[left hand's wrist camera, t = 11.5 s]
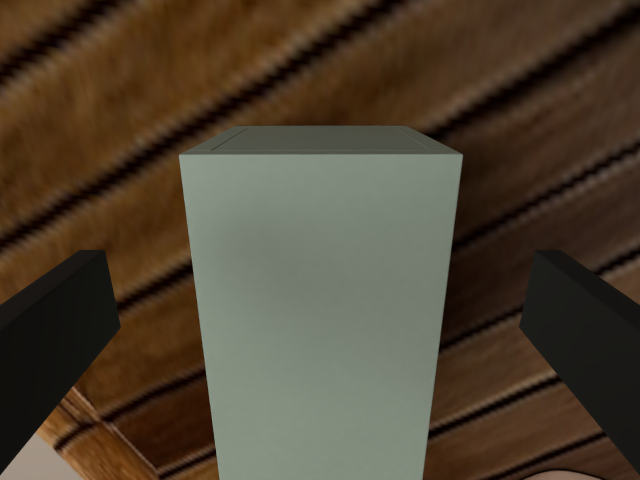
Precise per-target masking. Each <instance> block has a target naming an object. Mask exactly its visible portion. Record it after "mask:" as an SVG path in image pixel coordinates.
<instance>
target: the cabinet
mask: <svg viewBox="0 0 640 480" xmlns="http://www.w3.org/2000/svg"><path fill="white" fill-rule="evenodd" d="M179 160H180V168H181V176H182V184H183V192H184V200H185V207H186V215H187V223H188V231H189V239H190V247H191V255H192V263H193V271H194V279H195V287H196V295H197V302H198V310H199V318H200V326H201V334H202V342H203V350H204V358H205V366H206V374H207V382H208V390H209V397H210V405H211V413H212V421H213V429H214V437H215V445H216V453H217V461H218V469H219V477H220V480H422V478H423V470H424V463H425V455H426V447H427V439H428V431H429V423H430V415H431V407H432V399H433V391H434V383H435V375H436V367H437V359H438V351H439V343H440V335H441V327H442V319H443V311H444V303H445V295H446V287H447V279H448V271H449V263H450V255H451V247H452V239H453V231H454V223H455V215H456V207H457V199H458V191H459V184H460V176H461V168H462V160H463V154H461V153H459V152H457V151H455V150H453V149H451V148H449V147H447V146H445V145H443V144H441V143H439V142H437V141H435V140H433V139H431V138H429V137H427V136H425V135H423V134H421V133H419V132H417V131H416V130H414V129H412V128H410V127H407V126H234V127H233V128H231V129H229V130H227V131H225V132H223V133H221V134H219V135H217V136H215V137H213V138H211V139H209V140H207V141H205V142H203V143H201V144H199V145H197V146H196V147H194V148H192V149H190V150H188V151H186V152H184V153H182V154H180V155H179Z"/></svg>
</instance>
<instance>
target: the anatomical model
mask: <svg viewBox="0 0 640 480" xmlns="http://www.w3.org/2000/svg"><path fill="white" fill-rule="evenodd" d="M524 480H601V479H598V478H594V477H591V476H588V475H584V474H580V473H575V472H570V471H547V472H542V473H539V474H536V475H533V476H531V477H528V478H526V479H524Z"/></svg>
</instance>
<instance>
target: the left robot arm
mask: <svg viewBox="0 0 640 480" xmlns="http://www.w3.org/2000/svg"><path fill="white" fill-rule="evenodd" d="M120 328H121V326H120V321H119V316H118V311H117V307H116V302H115V297H114V292H113V287H112V282H111V278H110V273H109V268H108V263H107V258H106V254H105V250H79V251H78V252H76V253H75V254H73V255H72V256H70V257H69V258H68V259H66V260H65V261H63V262H62V263H60V264H59V265H57V266H56V267H55V268H53V269H52V270H50V271H49V272H47V273H46V274H45V275H43V276H42V277H40V278H39V279H37V280H36V281H34V282H33V283H32V284H30V285H29V286H27V287H26V288H24V289H23V290H21V291H20V292H19V293H17V294H16V295H14V296H13V297H11V298H10V299H9V300H7V301H6V302H4V303H3V304H1V305H0V475H1V474H2V472H3V471H4V470H5V469H6V468H7V466H8V465H9V464H10V463H11V461H12V460H13V459H14V458H15V456H16V455H17V454H18V453H19V452H20V450H21V449H22V448H23V447H24V445H25V444H26V443H27V442H28V441H29V439H30V438H31V437H32V436H33V434H34V433H35V432H36V431H37V430H38V428H39V427H40V426H41V425H42V423H43V422H44V421H45V420H46V418H47V417H48V416H49V415H50V414H51V412H52V411H53V410H54V409H55V407H56V406H57V405H58V404H59V403H60V401H61V400H62V399H63V398H64V396H65V395H66V394H67V393H68V392H69V390H70V389H71V388H72V387H73V385H74V384H75V383H76V382H77V380H78V379H79V378H80V377H81V376H82V374H83V373H84V372H85V371H86V369H87V368H88V367H89V366H90V365H91V363H92V362H93V361H94V360H95V358H96V357H97V356H98V355H99V354H100V352H101V351H102V350H103V349H104V347H105V346H106V345H107V344H108V342H109V341H110V340H111V339H112V338H113V336H114V335H115V334H116V333H117V331H118V330H119V329H120ZM519 328H520V329H521V330H522V331H523V333H524V334H525V335H526V336H527V338H528V339H529V340H530V341H531V342H532V344H533V345H534V346H535V347H536V349H537V350H538V351H539V352H540V354H541V355H542V356H543V357H544V358H545V360H546V361H547V362H548V363H549V365H550V366H551V367H552V368H553V369H554V371H555V372H556V373H557V374H558V376H559V377H560V378H561V379H562V380H563V382H564V383H565V384H566V385H567V387H568V388H569V389H570V390H571V392H572V393H573V394H574V395H575V396H576V398H577V399H578V400H579V401H580V403H581V404H582V405H583V406H584V407H585V409H586V410H587V411H588V412H589V414H590V415H591V416H592V417H593V418H594V420H595V421H596V422H597V423H598V425H599V426H600V427H601V428H602V430H603V431H604V432H605V433H606V434H607V436H608V437H609V438H610V439H611V441H612V442H613V443H614V444H615V445H616V447H617V448H618V449H619V450H620V452H621V453H622V454H623V455H624V457H625V458H626V459H627V460H628V461H629V463H630V464H631V465H632V466H633V468H634V469H635V470H636V471H637V472H638V474H639V475H640V305H639V304H637V303H636V302H634V301H633V300H631V299H630V298H629V297H627V296H626V295H624V294H623V293H621V292H620V291H619V290H617V289H616V288H614V287H613V286H611V285H610V284H608V283H607V282H606V281H604V280H603V279H601V278H600V277H598V276H597V275H595V274H594V273H593V272H591V271H590V270H588V269H587V268H585V267H584V266H583V265H581V264H580V263H578V262H577V261H575V260H574V259H572V258H571V257H570V256H568V255H567V254H565V253H564V252H562V251H561V250H535V254H534V258H533V263H532V268H531V273H530V278H529V282H528V287H527V292H526V297H525V302H524V307H523V311H522V316H521V321H520V326H519Z"/></svg>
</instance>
